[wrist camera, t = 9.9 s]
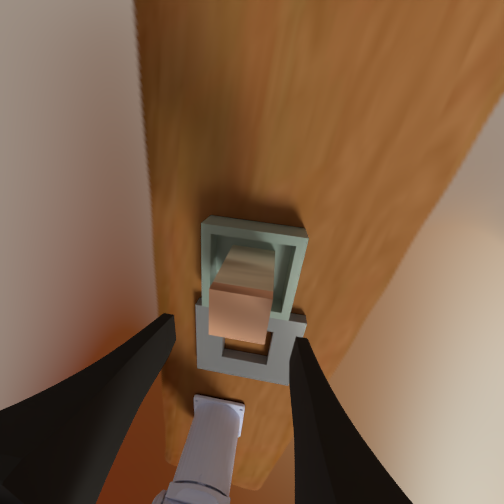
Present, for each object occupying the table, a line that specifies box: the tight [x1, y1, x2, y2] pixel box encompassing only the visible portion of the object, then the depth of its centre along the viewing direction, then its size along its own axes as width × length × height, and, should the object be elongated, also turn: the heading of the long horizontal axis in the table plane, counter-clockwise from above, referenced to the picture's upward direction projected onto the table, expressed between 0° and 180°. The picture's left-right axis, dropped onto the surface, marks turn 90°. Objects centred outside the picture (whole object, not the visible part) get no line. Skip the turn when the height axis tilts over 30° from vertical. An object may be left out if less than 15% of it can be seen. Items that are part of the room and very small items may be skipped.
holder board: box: [195, 298, 307, 386], centre depth 24 cm, size 11×12×1 cm
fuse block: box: [209, 245, 275, 345], centre depth 16 cm, size 4×4×7 cm
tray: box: [201, 215, 309, 321], centre depth 19 cm, size 9×9×2 cm
